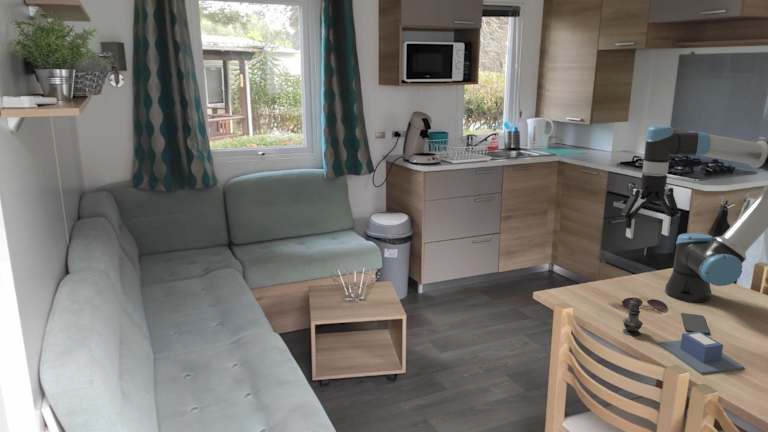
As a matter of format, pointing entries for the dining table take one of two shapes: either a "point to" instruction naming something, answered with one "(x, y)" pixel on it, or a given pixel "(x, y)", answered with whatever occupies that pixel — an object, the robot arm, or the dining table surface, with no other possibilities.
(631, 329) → the salt shaker
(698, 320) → the smartphone
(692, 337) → the card deck
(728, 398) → the dining table surface
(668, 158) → the robot arm
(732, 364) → the mat
